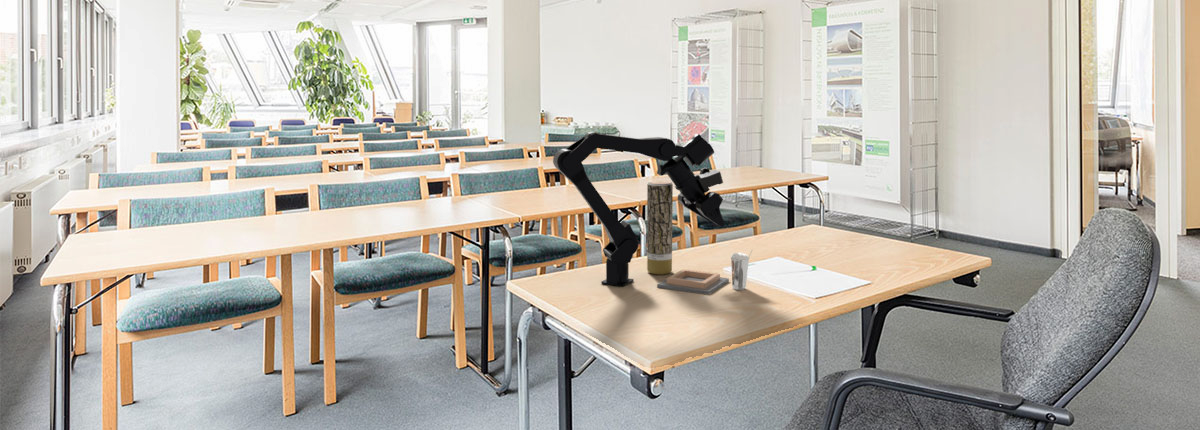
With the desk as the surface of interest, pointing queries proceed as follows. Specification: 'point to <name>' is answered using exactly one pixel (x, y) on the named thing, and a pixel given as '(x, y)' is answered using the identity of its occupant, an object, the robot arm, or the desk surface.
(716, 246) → the desk surface
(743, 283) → the milkshake
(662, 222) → the brown tall cylinder
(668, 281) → the dock
